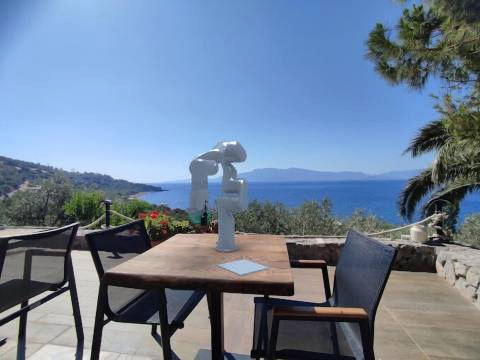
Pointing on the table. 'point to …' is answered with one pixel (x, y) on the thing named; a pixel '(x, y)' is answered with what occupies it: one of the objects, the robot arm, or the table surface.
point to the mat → (242, 267)
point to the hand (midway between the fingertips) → (199, 224)
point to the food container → (197, 219)
